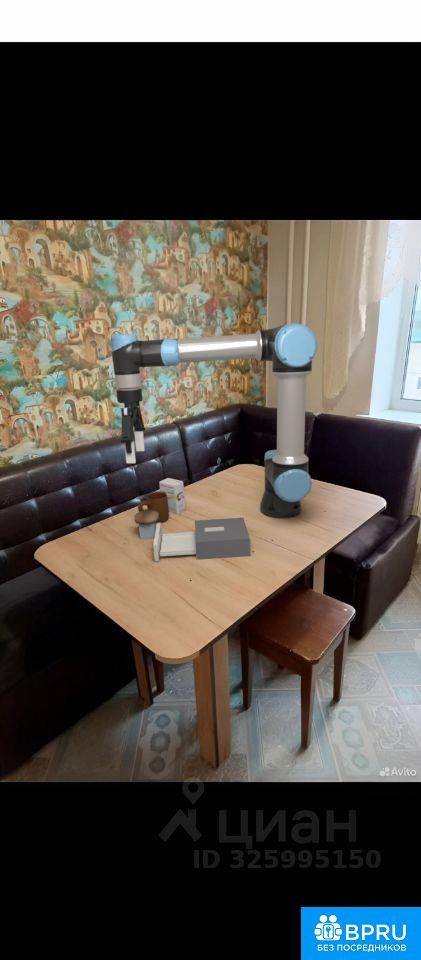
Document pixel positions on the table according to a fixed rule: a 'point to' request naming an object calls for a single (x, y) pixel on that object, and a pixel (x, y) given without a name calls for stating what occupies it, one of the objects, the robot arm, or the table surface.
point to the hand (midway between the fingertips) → (136, 456)
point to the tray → (173, 543)
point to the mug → (157, 505)
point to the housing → (221, 538)
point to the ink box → (173, 494)
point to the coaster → (146, 517)
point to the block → (147, 531)
